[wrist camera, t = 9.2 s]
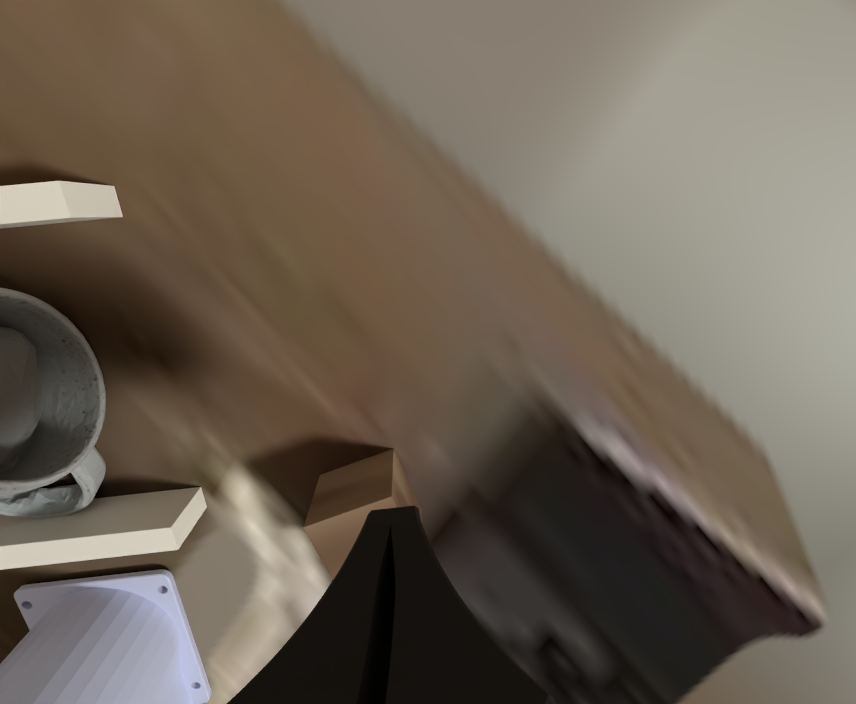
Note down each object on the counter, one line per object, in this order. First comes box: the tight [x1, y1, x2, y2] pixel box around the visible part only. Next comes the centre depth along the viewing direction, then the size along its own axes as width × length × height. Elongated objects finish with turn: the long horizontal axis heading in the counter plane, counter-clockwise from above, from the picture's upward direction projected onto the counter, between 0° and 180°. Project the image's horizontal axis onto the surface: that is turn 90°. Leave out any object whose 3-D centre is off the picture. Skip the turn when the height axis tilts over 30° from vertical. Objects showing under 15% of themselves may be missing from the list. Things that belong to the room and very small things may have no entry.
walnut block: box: [303, 449, 422, 580], centre depth 21 cm, size 4×4×4 cm
